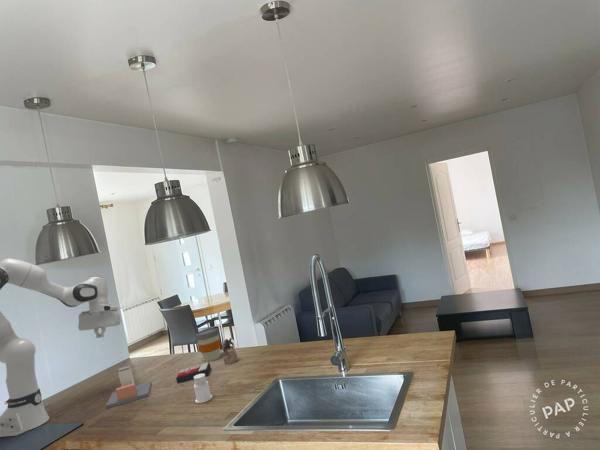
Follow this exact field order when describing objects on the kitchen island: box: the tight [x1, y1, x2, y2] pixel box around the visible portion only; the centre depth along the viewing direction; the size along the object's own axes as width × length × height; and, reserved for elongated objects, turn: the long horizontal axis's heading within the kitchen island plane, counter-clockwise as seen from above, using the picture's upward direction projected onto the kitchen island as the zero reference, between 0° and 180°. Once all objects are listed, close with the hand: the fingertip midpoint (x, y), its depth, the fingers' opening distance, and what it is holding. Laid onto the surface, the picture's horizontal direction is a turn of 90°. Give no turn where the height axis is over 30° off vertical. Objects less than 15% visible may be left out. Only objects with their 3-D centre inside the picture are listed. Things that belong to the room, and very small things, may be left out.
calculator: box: [175, 362, 212, 384], centre depth 215 cm, size 11×4×15 cm
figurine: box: [221, 337, 239, 366], centre depth 226 cm, size 7×7×12 cm
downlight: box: [193, 374, 213, 404], centre depth 181 cm, size 8×7×10 cm
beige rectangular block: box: [117, 364, 135, 387], centre depth 206 cm, size 5×4×12 cm
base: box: [105, 380, 153, 410], centre depth 206 cm, size 18×18×6 cm
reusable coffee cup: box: [195, 327, 222, 362], centre depth 240 cm, size 13×13×15 cm
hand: (100, 337), depth 218 cm, fingers closed
